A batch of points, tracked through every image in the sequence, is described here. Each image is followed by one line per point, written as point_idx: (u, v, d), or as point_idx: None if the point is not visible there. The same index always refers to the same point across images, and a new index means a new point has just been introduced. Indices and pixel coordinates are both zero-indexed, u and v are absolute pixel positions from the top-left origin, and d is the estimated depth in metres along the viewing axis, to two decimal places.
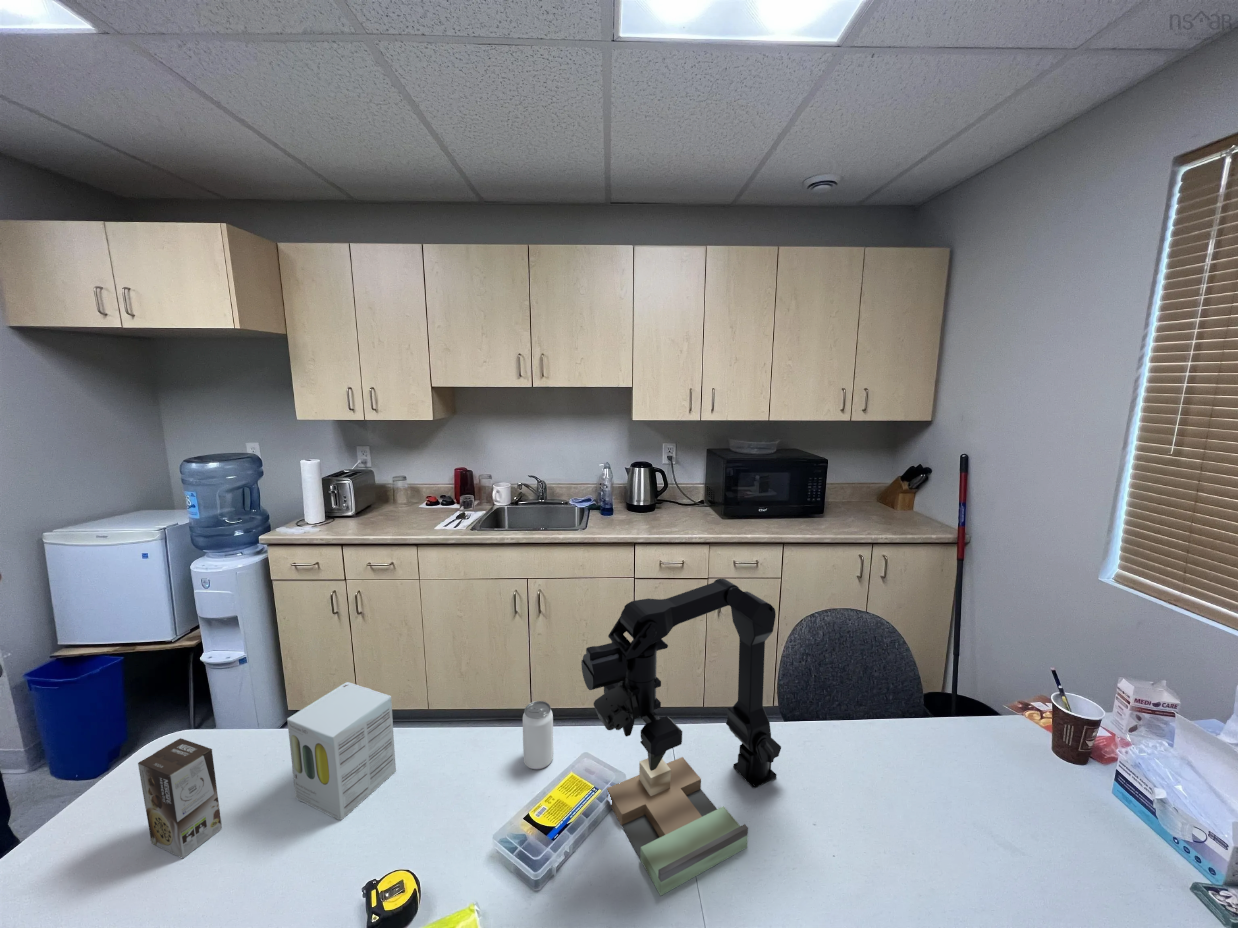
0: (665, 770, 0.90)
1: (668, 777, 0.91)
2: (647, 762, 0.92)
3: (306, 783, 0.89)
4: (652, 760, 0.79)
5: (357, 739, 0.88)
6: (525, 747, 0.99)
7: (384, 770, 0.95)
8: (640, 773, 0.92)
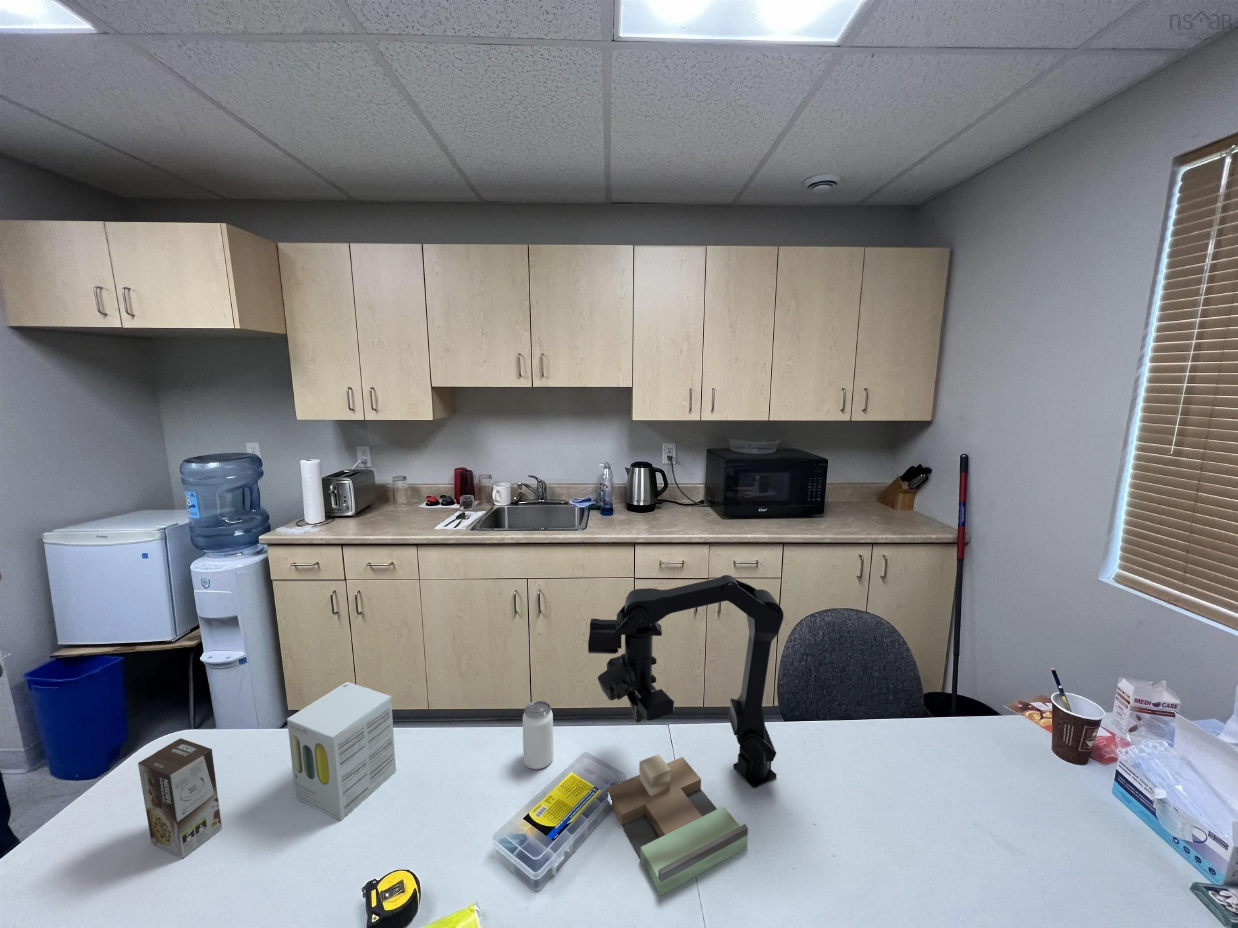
0: (665, 770, 0.90)
1: (668, 777, 0.91)
2: (647, 762, 0.92)
3: (306, 783, 0.89)
4: (637, 713, 0.96)
5: (357, 739, 0.88)
6: (525, 747, 0.99)
7: (384, 770, 0.95)
8: (640, 773, 0.92)
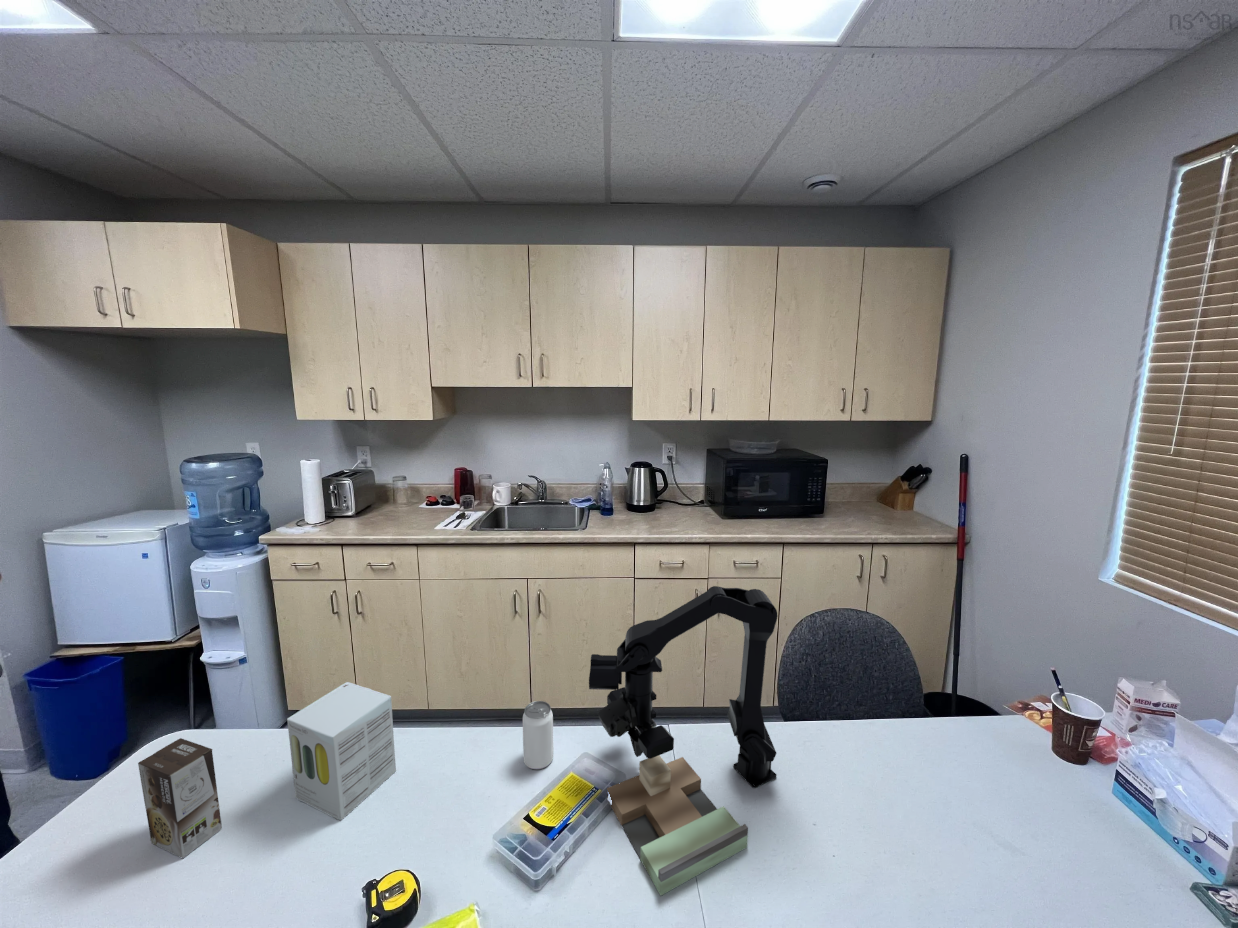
0: (665, 770, 0.90)
1: (668, 777, 0.91)
2: (647, 762, 0.92)
3: (306, 783, 0.89)
4: (637, 748, 0.96)
5: (357, 739, 0.88)
6: (525, 747, 0.99)
7: (384, 770, 0.95)
8: (640, 773, 0.92)
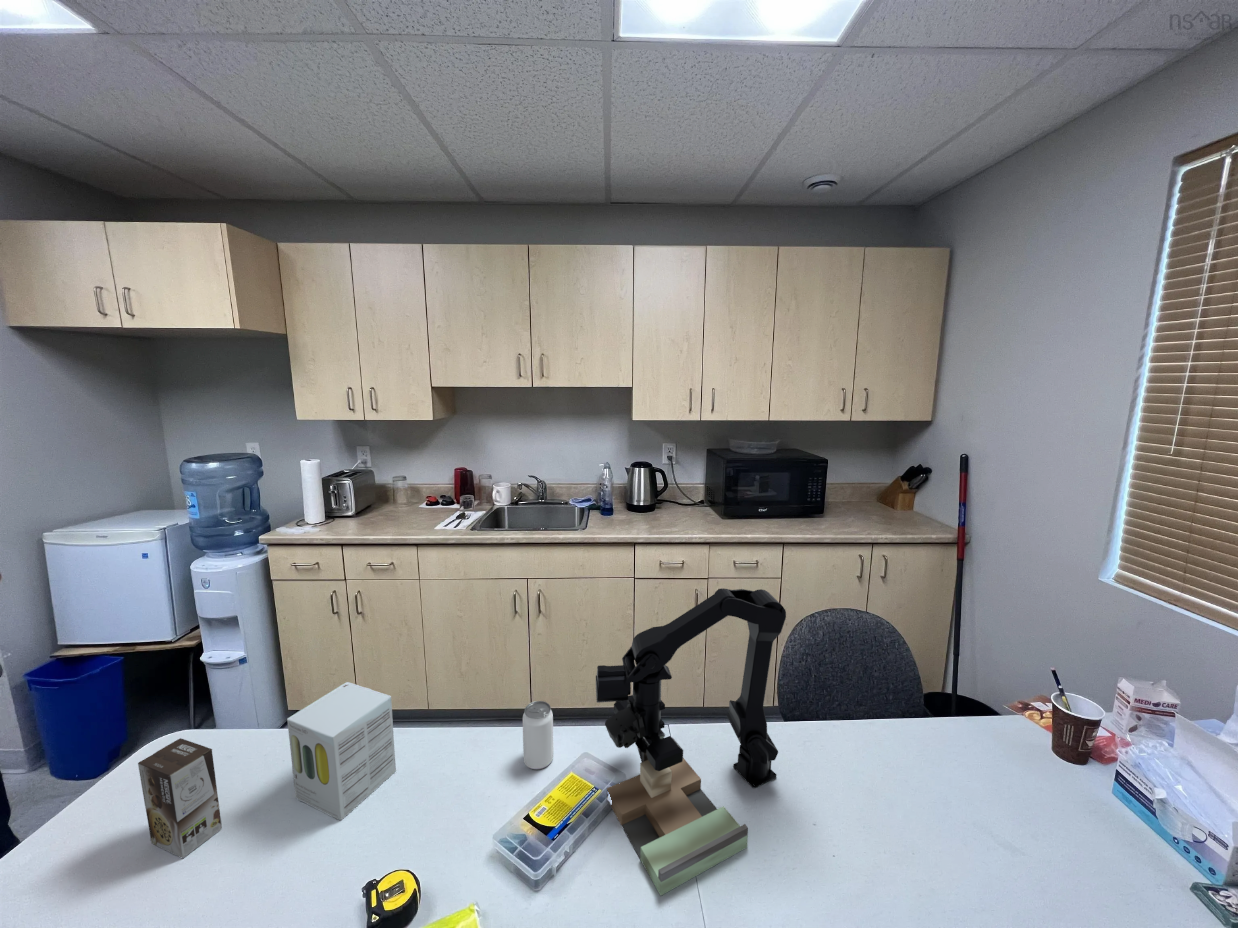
0: (666, 771, 0.90)
1: (669, 779, 0.90)
2: (648, 763, 0.92)
3: (306, 783, 0.89)
4: (645, 758, 0.93)
5: (357, 739, 0.88)
6: (525, 747, 0.99)
7: (384, 770, 0.95)
8: (641, 774, 0.92)
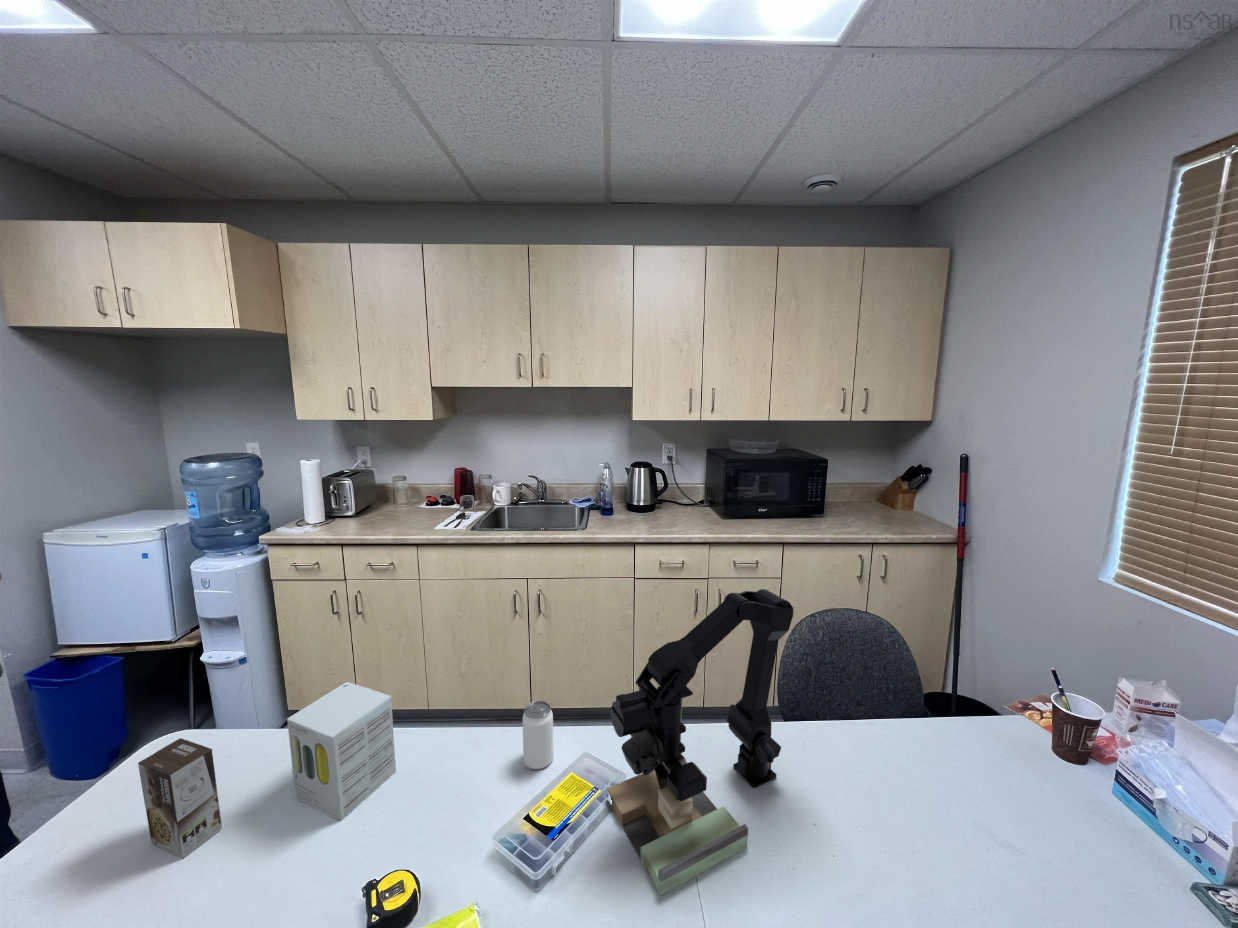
0: (687, 800, 0.84)
1: (690, 808, 0.84)
2: (667, 791, 0.86)
3: (306, 783, 0.89)
4: (664, 785, 0.87)
5: (357, 739, 0.88)
6: (525, 747, 0.99)
7: (384, 770, 0.95)
8: (659, 802, 0.86)
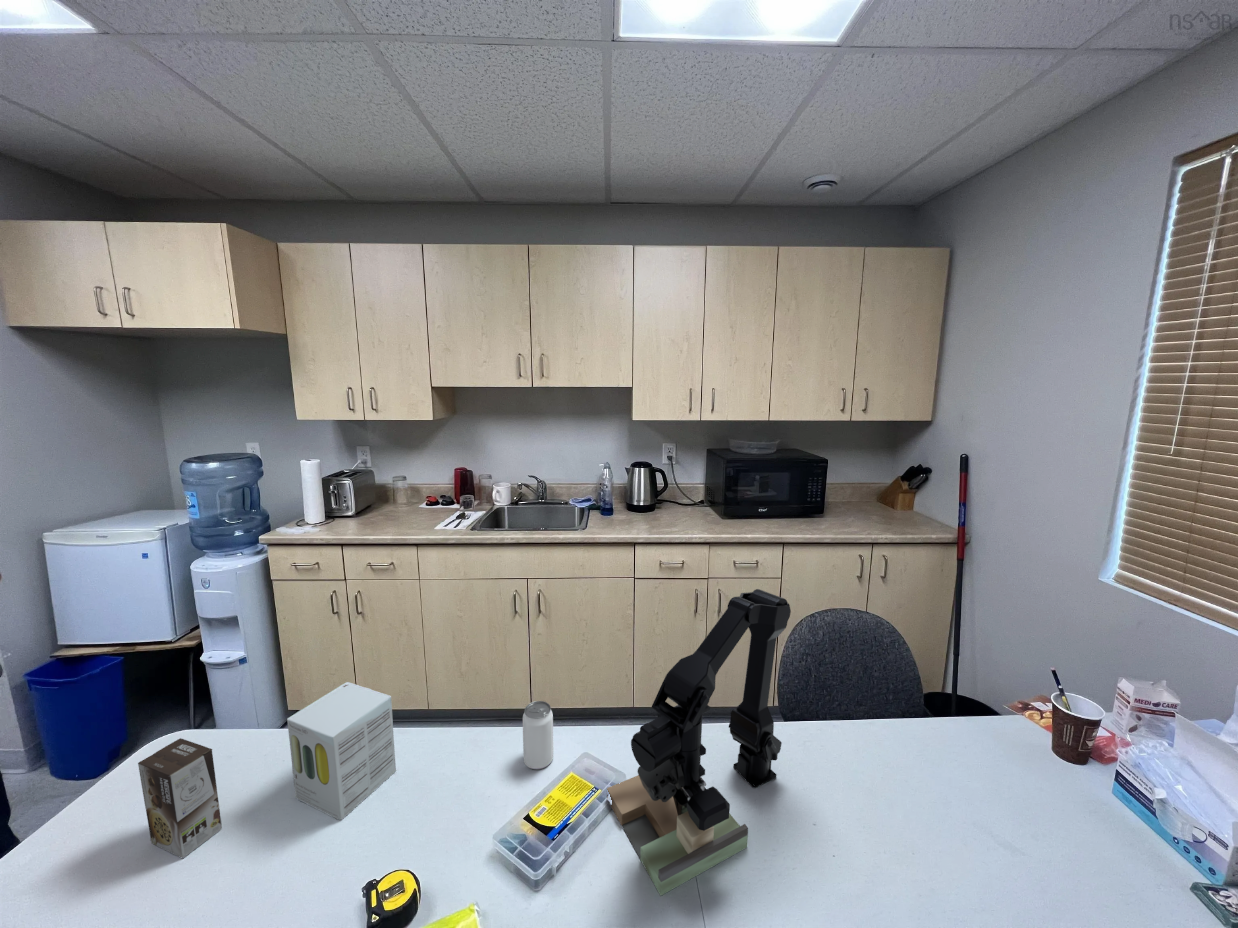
0: None
1: (711, 836, 0.79)
2: (686, 817, 0.80)
3: (306, 783, 0.89)
4: (682, 810, 0.82)
5: (357, 739, 0.88)
6: (525, 747, 0.99)
7: (384, 770, 0.95)
8: (678, 829, 0.80)
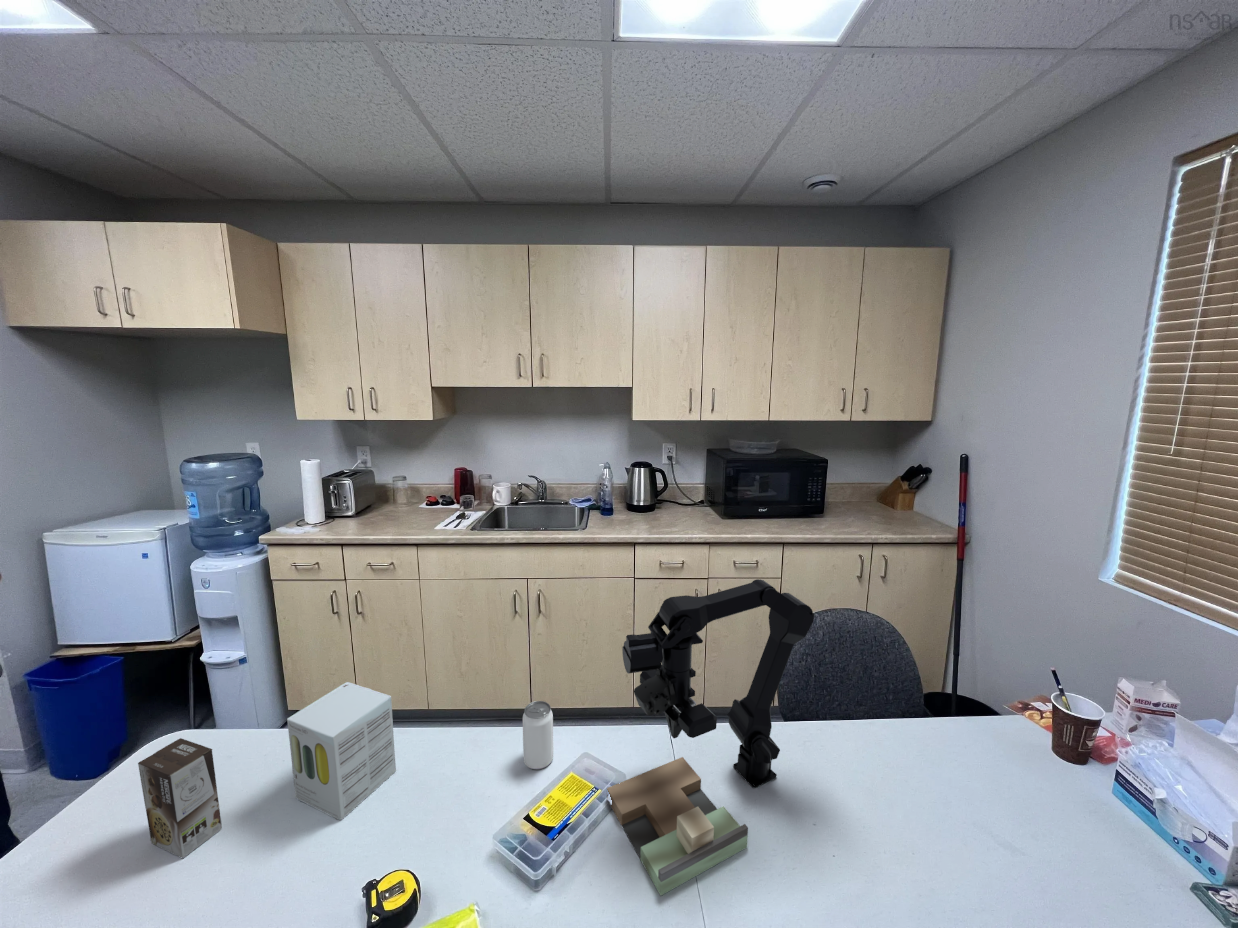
0: (708, 828, 0.78)
1: (711, 836, 0.79)
2: (686, 817, 0.80)
3: (306, 783, 0.89)
4: (675, 728, 0.90)
5: (357, 739, 0.88)
6: (525, 747, 0.99)
7: (384, 770, 0.95)
8: (678, 829, 0.80)
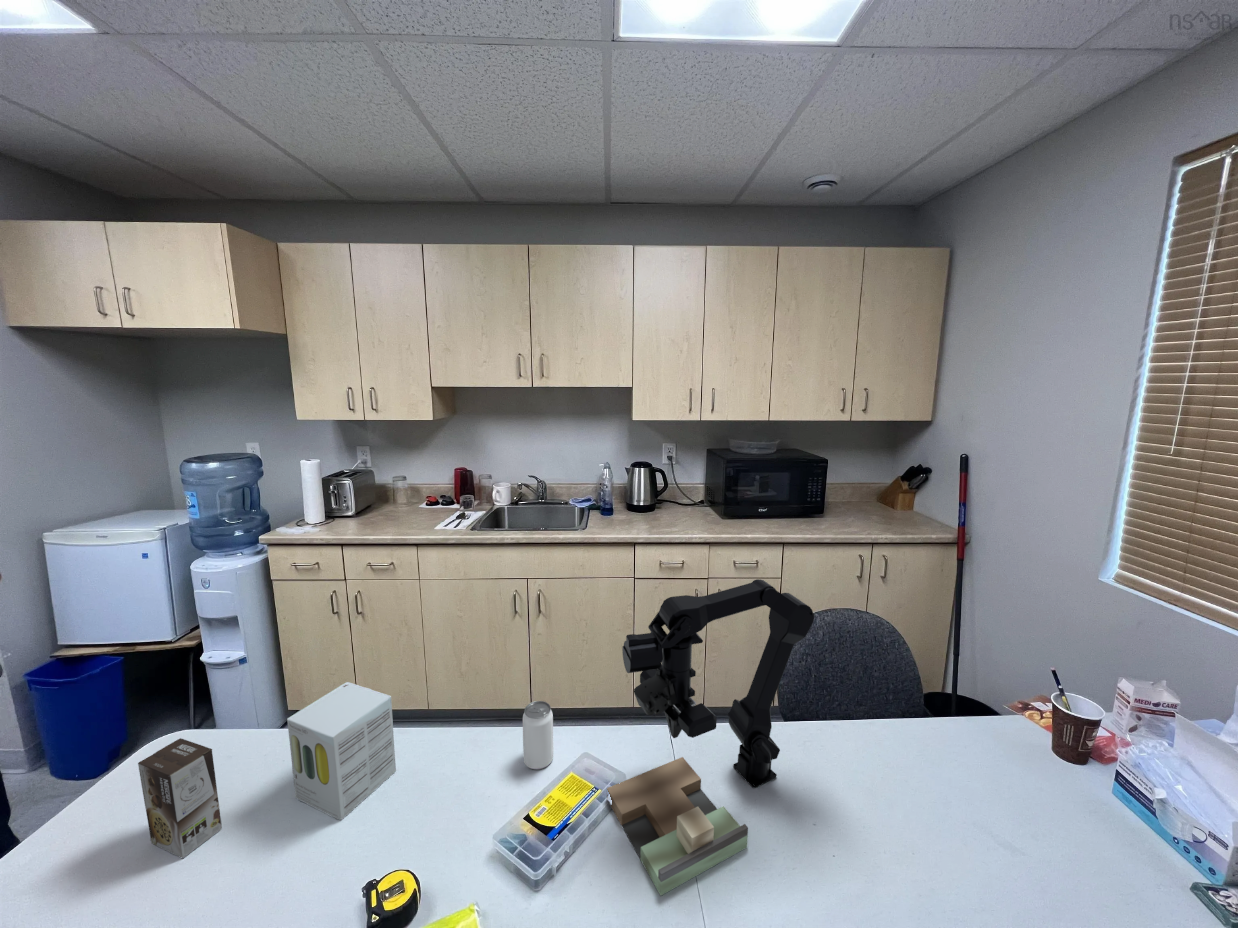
0: (708, 828, 0.78)
1: (711, 836, 0.79)
2: (686, 817, 0.80)
3: (306, 783, 0.89)
4: (675, 728, 0.90)
5: (357, 739, 0.88)
6: (525, 747, 0.99)
7: (384, 770, 0.95)
8: (678, 829, 0.80)
